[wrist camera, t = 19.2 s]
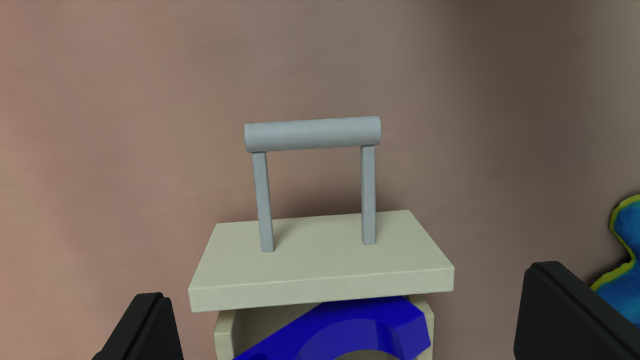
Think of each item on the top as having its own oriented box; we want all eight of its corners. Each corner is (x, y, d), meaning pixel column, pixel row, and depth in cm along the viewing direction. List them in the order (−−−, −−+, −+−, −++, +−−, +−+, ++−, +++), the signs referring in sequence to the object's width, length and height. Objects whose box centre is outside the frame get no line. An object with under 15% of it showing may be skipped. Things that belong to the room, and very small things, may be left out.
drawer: (201, 115, 21) (161, 141, 14) (411, 103, 21) (465, 123, 15) (241, 404, 27) (225, 514, 20) (404, 388, 27) (440, 490, 21)
